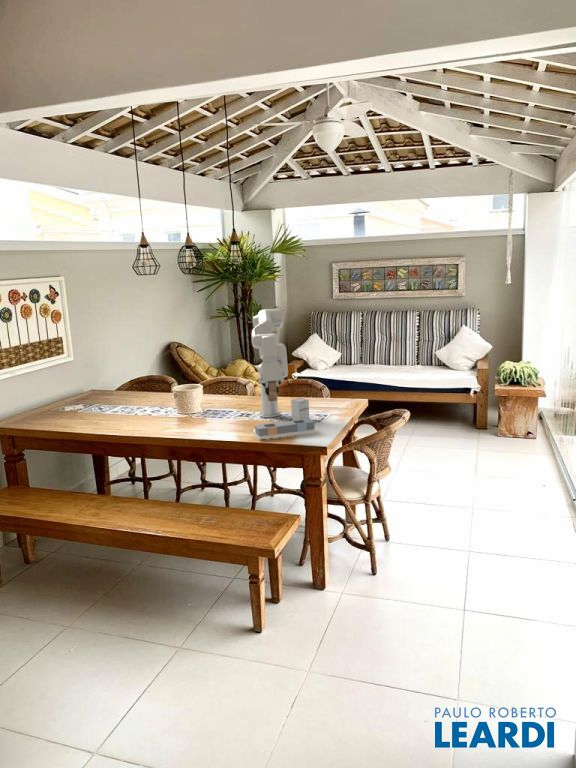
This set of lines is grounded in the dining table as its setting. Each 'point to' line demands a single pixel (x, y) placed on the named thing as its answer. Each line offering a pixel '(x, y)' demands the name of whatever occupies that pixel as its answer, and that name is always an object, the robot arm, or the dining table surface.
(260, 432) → the port board
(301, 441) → the dining table surface
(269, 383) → the walnut plug
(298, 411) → the supplement box
